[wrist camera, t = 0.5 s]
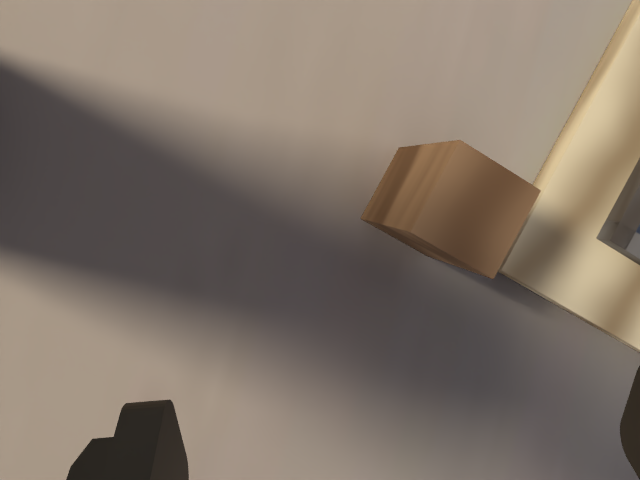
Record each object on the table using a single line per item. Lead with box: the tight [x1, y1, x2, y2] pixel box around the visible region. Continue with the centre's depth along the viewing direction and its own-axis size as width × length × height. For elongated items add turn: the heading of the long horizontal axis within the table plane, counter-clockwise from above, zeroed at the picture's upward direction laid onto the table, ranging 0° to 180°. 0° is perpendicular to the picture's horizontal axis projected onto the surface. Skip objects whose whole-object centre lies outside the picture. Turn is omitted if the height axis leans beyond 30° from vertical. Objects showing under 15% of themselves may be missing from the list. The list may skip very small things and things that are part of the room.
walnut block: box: [361, 140, 541, 279], centre depth 30 cm, size 4×4×8 cm
